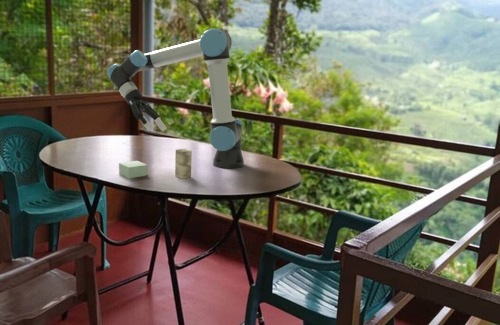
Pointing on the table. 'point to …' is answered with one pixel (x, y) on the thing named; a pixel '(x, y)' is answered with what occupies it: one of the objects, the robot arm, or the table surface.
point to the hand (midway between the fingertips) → (157, 129)
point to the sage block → (132, 169)
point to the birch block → (183, 163)
